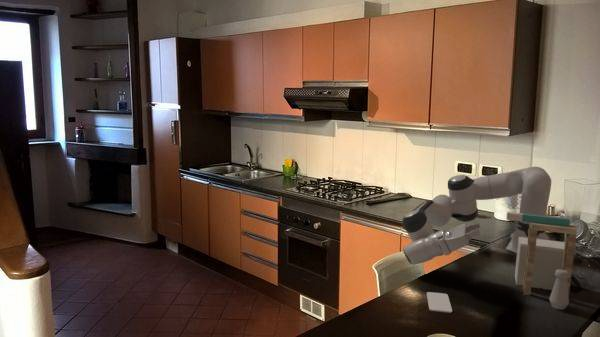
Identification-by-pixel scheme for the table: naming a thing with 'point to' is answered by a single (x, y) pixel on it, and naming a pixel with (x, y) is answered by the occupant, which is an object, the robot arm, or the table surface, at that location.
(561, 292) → the salt shaker
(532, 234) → the wooden stand
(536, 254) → the white rectangular block
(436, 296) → the smartphone
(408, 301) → the table surface
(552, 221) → the marker
